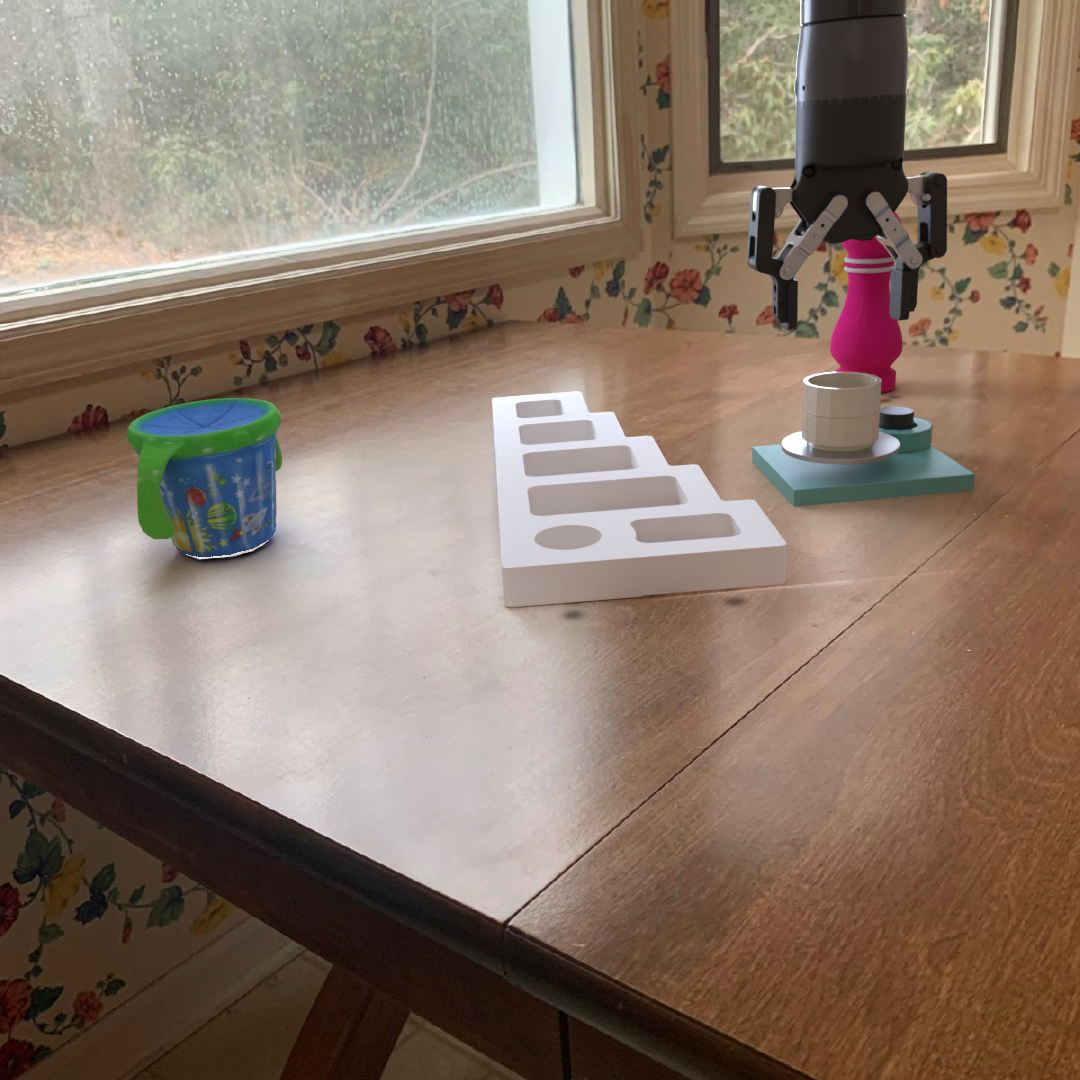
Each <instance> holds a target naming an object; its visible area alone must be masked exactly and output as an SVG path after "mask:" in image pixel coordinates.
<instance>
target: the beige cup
mask: <svg viewBox="0 0 1080 1080" xmlns="http://www.w3.org/2000/svg"><path fill="white" fill-rule="evenodd" d="M802 380H803V381H802V391H801V392H802V395H801V397H802V399H801V431H802V435H801V437H802V438H803V439H804V440H805V441H807V444H808V445H809V446H810V447H812V448H815V449H818V450H823V451H831V452H851V451H858V450H863V449H866V448H869V447H871V446H872V445H873V442H874V441H876V440H878V438H879V421H880V409H881V399H882V397H881V396H882V393H881V380H882V379H881V378H879V377H877V376H875V375H871V374H867V373H859V372H835V371H831V372H830V371H828V372H821V373H816V374H815V373H814V374H810V375H809V376H806V377H804V378H803V379H802Z"/></svg>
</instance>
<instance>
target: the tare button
mask: <svg viewBox="0 0 1080 1080" xmlns="http://www.w3.org/2000/svg"><path fill="white" fill-rule="evenodd" d="M914 417H915V410H914V408H912V407H907V406H899V405H896V406H895V405H894V406H893V405H892V406H884V407H880V421H879V428H882V429H887V430H907V429H912V428H913V426H914Z"/></svg>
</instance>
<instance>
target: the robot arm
mask: <svg viewBox="0 0 1080 1080" xmlns="http://www.w3.org/2000/svg"><path fill="white" fill-rule="evenodd" d="M799 1H800V6H799V7H800V9H799V12H800V13H799V14H800V15H799V24H800V28H799V39H798V46H797V53H796V63H795V81H794V83H793V84H794V85H793V92H794V95H795V132H794V133H795V134H794V135H795V136H794V177H793V180H792V183H791V184H790V186H789V187H769V186H764V185H756V186H754V187H753V188H751V192H750V200H749V201H750V203H749V220H748V237H747V238H748V240H747V258H746V263H747V266H748V267H749V268H750V269H752V270H754V271H756V272H759V273H760V274H765V275H768V276H770V278H771V283H772V299H771V300H772V303H771V304H772V309H771V310H772V311H771V312H772V316H773V319H774V321H776V322H777V323H779V324H780V328H782V329H784V330H785V331H796V330H797V329H798V318H799V317H798V310H799V301H798V300H799V299H798V298H799V280H798V279H796V278H795V276H796V275H797V273H798V272H799V270H800V269H801V268H802V266H803V265H804V263H805V262H806V260H807V259H808V258H809V257H810V256H811V255H813V254H814V252H815V251H816V250H817V249H818V247H819V246H820V244H821V243H822V242H823V243H826V244H830V245H832V244H833V245H834V244H841V243H842V242H845V241H847V240H850V239H854V240H859V241H869V240H872V238H874V237H876V239H877V240H878V241H879V242H880V243H881V244H882V245H883V246H884V247H885V248H886V250H887V251H888V253H889V254H890V255H891V257H892V258H893V259H894V263H895V267H893V268H891V275H890V308H889V313H890V317H891V318H893V319H895V320H897V321H898V322H899V321H908V320H909V318H910V313H912V312H915V311H916V308H917V305H918V291H919V274H920V269H921V267H922V266H923V265H924V264H925V263H927V262H929V261H932V260H933V259H940V258H943V257H944V256H945V255H946V254H947V251H948V178H947V176H946V175H945V174H944V173H940V172H936V171H924V172H921V173H920V174H919V175H915V176H906V175H905V172H904V167H903V164H904V163H903V162H904V157H905V137H906V136H905V135H906V114H907V94H908V71H909V70H908V68H909V67H908V66H909V43H908V42H909V41H908V35H907V34H908V33H907V32H908V31H907V17H906V15H907V4H908V3H907V2H908V0H799ZM908 194H909V196H910V200H911V203H912V204H914V205H916V206H917V207H916V208H917V211H916V212H917V243H915V244H914V242H913V241H912V240H911V238H910V234H909V233H908V231H907V230H906V229H905V227H904V225H903V223H902V222H901V223H902V224H901V223H900V222H899V220H898V219H897V217H896V216H895V215H894V212H896V211H897V209H898V208H899V206H900V205H901V204H902V202H903V201H904V199H905V198H906V196H907V195H908ZM787 204H789V205H790V206H791V207H792V209H793V211H795V213H796V215H798V218H800V219H799V220H798V222H797V223H796V224H795V226H794V227H793V229H792V231H791V232H790V233H789V234H788V236H787V238H786V240H785V243H784V246H783V247H782V248H781V249H780V251H779V253H778V254H777V255H776V257H773V254H774V252H773V251H774V238H775V236H774V235H775V222H776V219H779V218H780V217H781V216H782V215H783V212H784V209H785V206H786V205H787Z"/></svg>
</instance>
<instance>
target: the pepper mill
mask: <svg viewBox="0 0 1080 1080" xmlns="http://www.w3.org/2000/svg"><path fill="white" fill-rule="evenodd" d="M894 215H895V216H896V217H897V219H898V220H899V222H900V223H901V224H902V225H903V223H902V220H901V217H900V216H899V215H898V213H897V212H896V211H895V212H894ZM840 244H841V246H842V247H843V248H844V250H845V251H846V252H847V256H844V259H843V261H844V262H845V263H844V265H845V266H844V267H843V270H844V271H845V272H846V273H847V289H846V290H847V291H846V297H845V301H844V304H843V307H842V310H841V312H840V314H839V317H838V319H837V321H836V323H835V325H834V328H833V330H832V334H831V338H830V346H829V352H830V355H831V357H832V358H833V359H834V361H835V362H836V363H837V364H838V365H839V367H838V368H836V369H835V370H834V372H859V373H867V374H871V375H875V376H877V377H879V378H881V379H882V380H881V394H882V393H887V392H891V391H893V390H894V389H895V388H896V385H897V383H896V382H897V371H896V369H895V368H893V367H891V366H892V365H893V364H894V363H895V361H897V360H898V359H899V357H900V356H901V353H902V352H903V335H902V329H901V326H900V324H899V321H897V320H895V319H893V318H891V317H890V313H889V308H890V285H891V268H893V267H896V264H895V261H894V259H893V258H892V257H891V255H890V254H889V253H888V251H887V250H886V248H885V247H884V246H883V245H882V244H881V243H880V242H879V241H878V240H877V239H876V237H874V238H872V240H869V241H859V240H854V239H850V240H847V241H845V242H842V243H840Z"/></svg>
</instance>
